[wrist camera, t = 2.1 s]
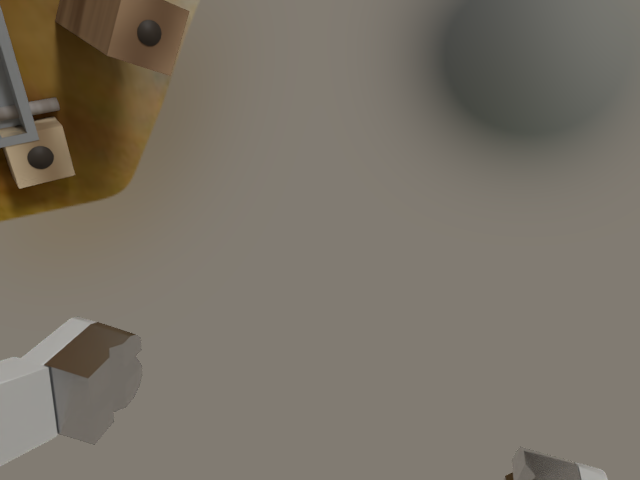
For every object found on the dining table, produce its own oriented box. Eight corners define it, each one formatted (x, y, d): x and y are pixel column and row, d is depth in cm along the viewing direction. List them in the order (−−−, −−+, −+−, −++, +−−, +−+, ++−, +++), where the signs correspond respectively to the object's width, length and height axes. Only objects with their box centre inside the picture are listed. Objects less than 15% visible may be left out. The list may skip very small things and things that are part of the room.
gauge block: (6, 178, 50) (13, 190, 48) (-18, 108, 47) (-12, 118, 45) (71, 162, 53) (80, 174, 51) (54, 95, 50) (63, 105, 48)
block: (55, 21, 47) (107, 55, 38) (68, -37, 46) (125, -16, 36) (110, 40, 50) (171, 76, 41) (124, -13, 49) (189, 11, 40)
